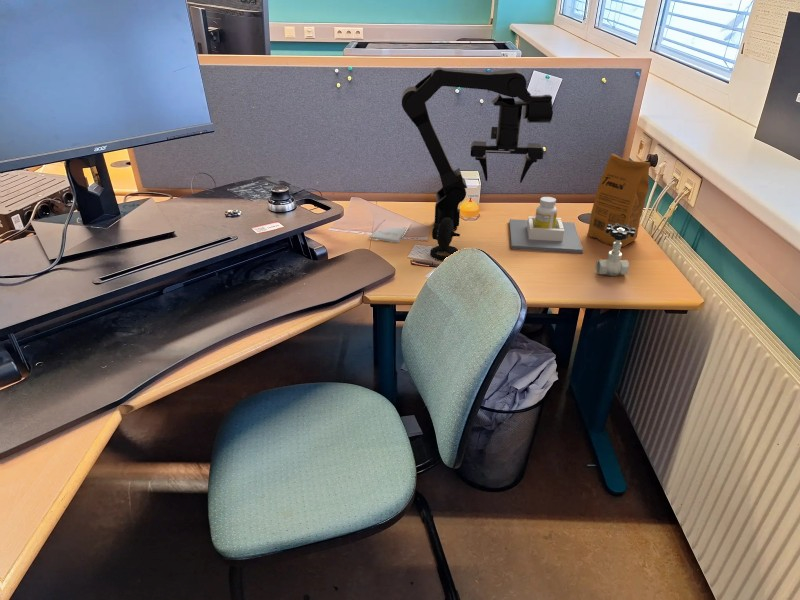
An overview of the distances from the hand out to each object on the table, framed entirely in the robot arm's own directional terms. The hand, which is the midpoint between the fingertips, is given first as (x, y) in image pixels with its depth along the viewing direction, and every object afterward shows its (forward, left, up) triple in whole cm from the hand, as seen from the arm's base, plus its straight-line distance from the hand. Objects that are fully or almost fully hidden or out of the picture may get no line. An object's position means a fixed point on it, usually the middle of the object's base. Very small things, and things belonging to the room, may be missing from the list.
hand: (503, 181), depth 149 cm
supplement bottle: (+12, -6, -12) cm, 18 cm away
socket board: (+12, -6, -13) cm, 19 cm away
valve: (+26, -26, -13) cm, 39 cm away
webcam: (-14, -21, -13) cm, 29 cm away
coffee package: (+30, -4, -13) cm, 33 cm away
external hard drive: (-30, -9, -14) cm, 34 cm away
